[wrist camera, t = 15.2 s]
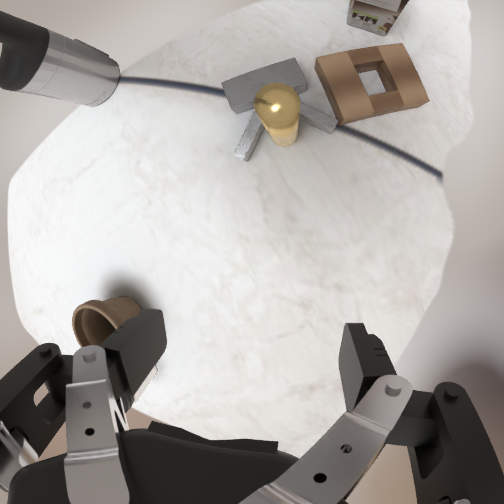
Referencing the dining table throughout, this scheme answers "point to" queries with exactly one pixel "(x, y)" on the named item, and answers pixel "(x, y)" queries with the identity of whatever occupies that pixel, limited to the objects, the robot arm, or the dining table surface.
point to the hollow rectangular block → (353, 92)
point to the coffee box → (375, 14)
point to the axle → (279, 112)
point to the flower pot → (101, 319)
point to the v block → (246, 89)
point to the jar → (128, 399)
